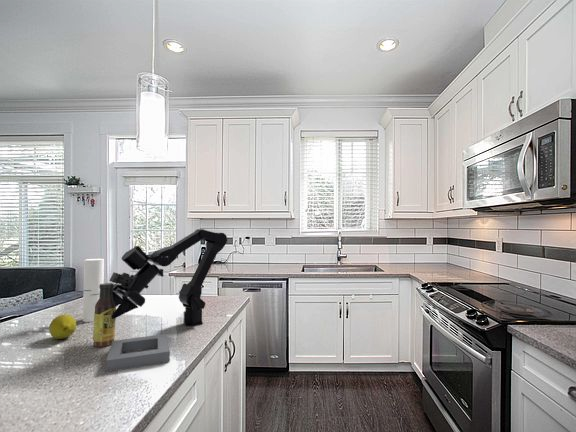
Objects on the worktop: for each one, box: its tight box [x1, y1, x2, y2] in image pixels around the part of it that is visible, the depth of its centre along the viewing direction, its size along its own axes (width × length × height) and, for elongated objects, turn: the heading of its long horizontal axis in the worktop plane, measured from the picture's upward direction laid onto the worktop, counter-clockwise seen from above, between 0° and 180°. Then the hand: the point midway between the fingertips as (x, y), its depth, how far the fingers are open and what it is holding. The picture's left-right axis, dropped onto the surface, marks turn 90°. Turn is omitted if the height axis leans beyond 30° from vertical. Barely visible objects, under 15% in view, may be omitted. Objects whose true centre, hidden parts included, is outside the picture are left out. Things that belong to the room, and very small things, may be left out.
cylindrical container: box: [82, 258, 105, 323], centre depth 132 cm, size 7×7×25 cm
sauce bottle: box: [92, 282, 117, 348], centre depth 105 cm, size 6×6×20 cm
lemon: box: [48, 314, 77, 340], centre depth 110 cm, size 11×8×8 cm
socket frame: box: [105, 333, 171, 373], centre depth 95 cm, size 16×16×3 cm
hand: (107, 315), depth 105 cm, fingers open, 9 cm apart
